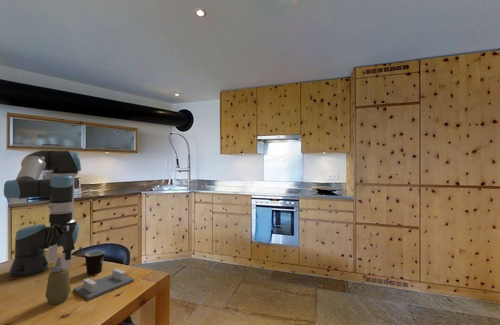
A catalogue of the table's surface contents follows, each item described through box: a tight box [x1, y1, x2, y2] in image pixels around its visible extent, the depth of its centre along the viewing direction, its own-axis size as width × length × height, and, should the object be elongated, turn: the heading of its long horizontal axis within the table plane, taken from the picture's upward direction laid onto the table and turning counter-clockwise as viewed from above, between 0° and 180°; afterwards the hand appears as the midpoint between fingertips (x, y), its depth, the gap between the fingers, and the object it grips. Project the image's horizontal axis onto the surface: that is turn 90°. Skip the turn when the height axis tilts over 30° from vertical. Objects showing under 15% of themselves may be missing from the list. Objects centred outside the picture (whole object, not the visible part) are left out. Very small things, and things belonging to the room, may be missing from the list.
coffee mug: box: [84, 250, 105, 276], centre depth 126 cm, size 12×9×10 cm
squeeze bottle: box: [45, 256, 71, 306], centre depth 98 cm, size 8×8×18 cm
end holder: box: [72, 267, 135, 301], centre depth 111 cm, size 14×20×5 cm
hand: (59, 264), depth 98 cm, fingers open, 13 cm apart
